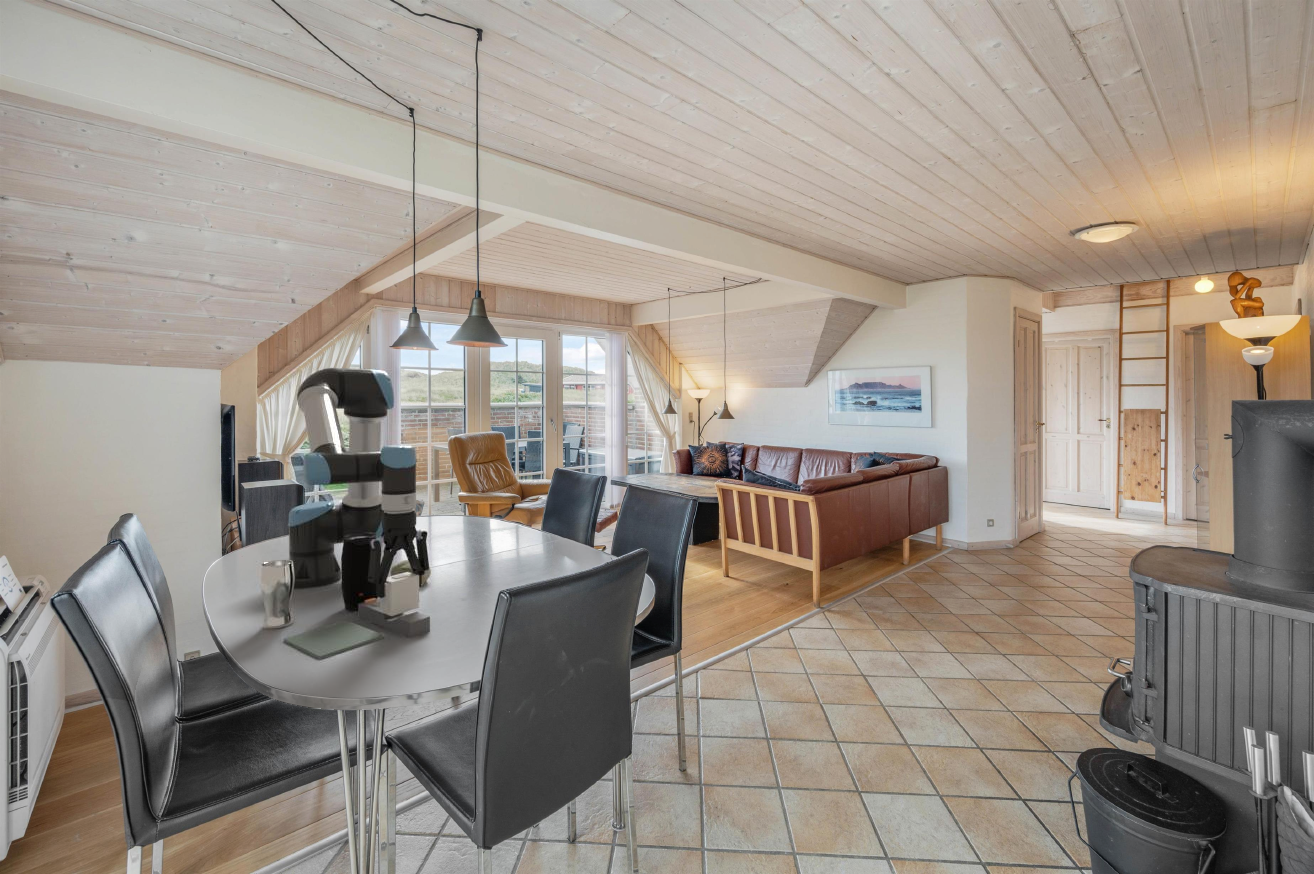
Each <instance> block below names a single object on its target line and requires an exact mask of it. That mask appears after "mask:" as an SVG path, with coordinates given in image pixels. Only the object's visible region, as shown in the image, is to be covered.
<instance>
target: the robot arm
mask: <svg viewBox="0 0 1314 874" xmlns="http://www.w3.org/2000/svg"><path fill="white" fill-rule="evenodd" d="M393 388H394V387H393V383H392V380H391V377H390V375H389V373H388V372H386V371H384V370H379V369H378V370H377V369H372V368H337V367H330V368H329V367H328V368H323V369H319V370H317V371H315V372H313V373H312V374H310V375H309V376H307V378H305V379H304V380H303V381H302V382H301V384H300V386H299V388H298V390H297V394H296V401H297V406H298V409H300V411H301V412H302V413H303V415H304V422H305V427H306V431H307V439H308V444H309V445H308V446H309V449H310V453H307V454H305V455H304V456H303V463H302V464H303V466H302V467H303V468H302V469H303V479H304V482H305V484H307V485H308V486H331V485H332V486H333V485H342V484H343V485H344V484H347V494H346V495H345V496H343V497H342V499H341V504H339V505H337V504H336V505H335V503H334V502H333V501H332V500H324V501H323V500H319V501H315V502H309V503H306V504H301V505H298V506H295V507H294V508H293V507H292V508H291V509H290V511H289V513H288V523H287V526H288V542H289V543H288V544H289V545H288V548H289V549H288V551H289V553H288V554H289V556H288V560H293V565H294V575H295V584H294V589H305V588H314V587H315V588H317V587H322V586H324V585H325V586H326V585H329V584H330V585H331V584H333V583H335V582H338V581H340V580H341V565H340V564H339V561H338V559H337V557H336V554H335V545H338V544H343V543H344V536H345V535H348V534H352V535H357V534H364V533H367V532H372V533H375V534H376V539H375V540H374V539H371V540H370V541H369V544H370V548H371V553H370V562H369V572H368V581H369V582H371V583H375V584H376V585H377V597H378V599H380V610H383V611H385V612H388V611H389V583H386V580H387V577H389V573H390V572H391V569H392V566H393V565H392V564H393V562H394V557H395V556H396V555H397V554H398V553H397V552H398V551H400V550H403V551H404V552H405V556H406V558H407V560H408V561H409V563H410V566H411V569H412V571H413V573H414V574H416V575H419V588H422V587H423V586H422V585H423V584H422V575H424V574H425V571H426V570H429V567H430V561H429V553H428V545H427V537H428V531H426V530H421V529H419V530H417V529H416V526H417V511H416V510H415V509H416V508H417V460H418V459H417V457H416V448H415V447H414V446H413V445H405V444H389V445H384V446H382V447H381V444H382V443H381V442H382V441H381V439H382V437H381V436H382V435H381V434H382V420H384V419H385V418H386V417H388V411H389V410H392V409H393V408H394V404H395V395H394V389H393ZM337 409H338V410H339V409H343V415H344V416H345V417H346V418H347V419H348V420H349V426H348V427H349V431H348V439H349V440H348V451H347V448H346V445H345V441H344V436H343V431H342V427H341V425H340V420H339V416H338V412H337ZM380 484H381V491H380ZM380 492H381V494H380ZM414 540H415V543H416V546H415V543H414V542H413V541H414ZM383 543H384V545H383ZM383 547H384V549H383V551H382V548H383ZM382 553H383V555H382Z"/></svg>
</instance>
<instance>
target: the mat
mask: <svg viewBox="0 0 1314 874" xmlns="http://www.w3.org/2000/svg"><path fill="white" fill-rule="evenodd" d="M384 638H385V635H384V634H382V633H379V632H376V631H375V630H372V629H369V628H366V627H364V626H362V625H359V624H357V623H354V622H351V621H349V620H343V621H340V622H336V623H332V624H329V625H326V626H322V627H319V628H317V629H312V630H309V631H306V632H301V633H298V634H295V635H292V636H289V637H286V638H285V637H284V638H283V642H284V643H286V644H288V645H290V646H292V647H294V648H297V649H298V650H300V651H302V652H304V653H306V654H308V655H310V656H312V657H314V658H316V659H319V660H322V659H325V658H328V657H331V656H334V655H337V654H341V653H342V652H345V651H346V652H347V651H349V650H353V649H354V648H357V647H361V646H363V645H367V644H369V643H372V642H375V641H378V640H381V639H384Z"/></svg>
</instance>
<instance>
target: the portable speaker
mask: <svg viewBox="0 0 1314 874" xmlns="http://www.w3.org/2000/svg"><path fill="white" fill-rule="evenodd" d="M371 539H374V540H375V539H376V534H375V533H372V532H367V533H364V534H357V535H352V534H348V535H345V536H344V543H342V551H341V558H340V569H341V578H340V580H341V593H342V599H343V603H344V610H345V611H347V612H355V609H358V604H359V603H363V602H365V600H368V599H372V598H375V599H379V597H377V585H376V584H375V583H371V582H369V581H368V572H369V562H370V553H371V548H370V544H369V541H370V540H371Z"/></svg>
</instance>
